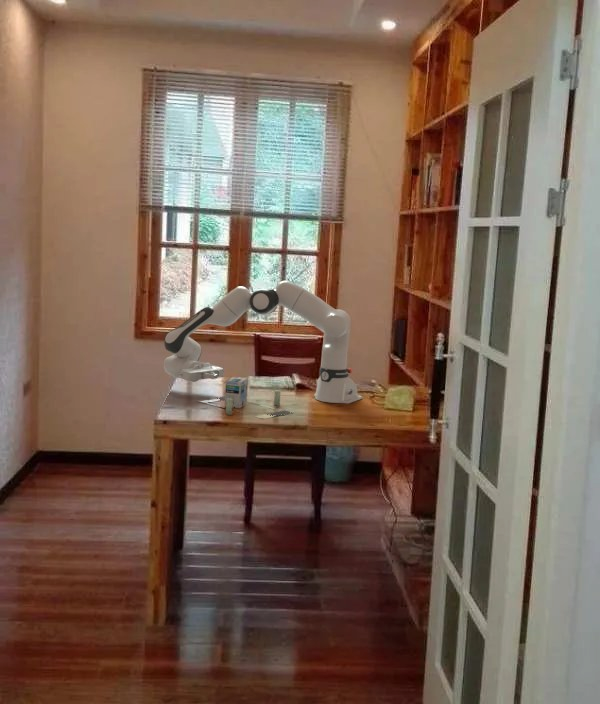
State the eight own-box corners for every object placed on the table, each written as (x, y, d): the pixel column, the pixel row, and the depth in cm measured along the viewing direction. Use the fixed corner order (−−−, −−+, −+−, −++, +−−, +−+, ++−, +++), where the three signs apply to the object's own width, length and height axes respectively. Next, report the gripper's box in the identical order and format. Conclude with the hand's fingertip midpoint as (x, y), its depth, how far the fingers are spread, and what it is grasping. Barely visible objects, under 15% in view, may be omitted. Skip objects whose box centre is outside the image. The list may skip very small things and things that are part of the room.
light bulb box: (240, 408, 318) (241, 382, 317) (224, 406, 320) (225, 380, 318) (247, 403, 329) (248, 377, 327) (231, 401, 330) (232, 376, 328)
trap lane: (237, 394, 344) (238, 380, 344) (303, 410, 321) (304, 396, 320) (184, 403, 321) (185, 388, 320) (252, 421, 298) (252, 406, 297)
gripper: (174, 365, 331) (197, 371, 322) (210, 362, 346) (232, 367, 338) (173, 380, 332) (196, 386, 323) (209, 376, 347) (231, 381, 338)
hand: (215, 376), depth 330 cm, fingers closed
